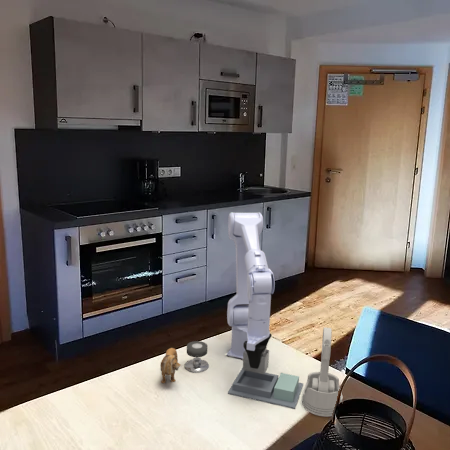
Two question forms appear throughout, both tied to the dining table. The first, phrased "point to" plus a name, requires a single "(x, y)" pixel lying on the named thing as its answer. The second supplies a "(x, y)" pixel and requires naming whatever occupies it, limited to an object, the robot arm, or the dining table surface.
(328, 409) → the engine component
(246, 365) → the block
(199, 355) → the wheel
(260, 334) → the robot arm
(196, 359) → the axle mount
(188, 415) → the dining table surface
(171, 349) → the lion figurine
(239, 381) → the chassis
